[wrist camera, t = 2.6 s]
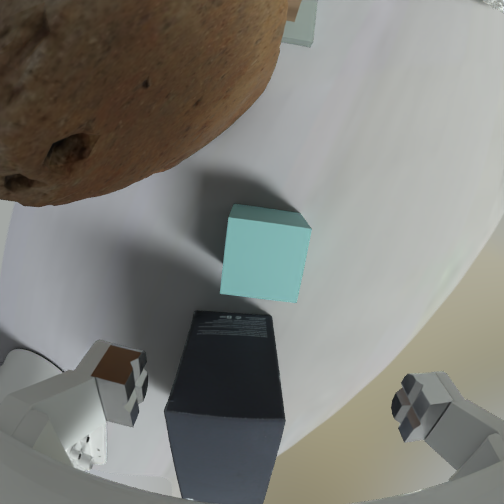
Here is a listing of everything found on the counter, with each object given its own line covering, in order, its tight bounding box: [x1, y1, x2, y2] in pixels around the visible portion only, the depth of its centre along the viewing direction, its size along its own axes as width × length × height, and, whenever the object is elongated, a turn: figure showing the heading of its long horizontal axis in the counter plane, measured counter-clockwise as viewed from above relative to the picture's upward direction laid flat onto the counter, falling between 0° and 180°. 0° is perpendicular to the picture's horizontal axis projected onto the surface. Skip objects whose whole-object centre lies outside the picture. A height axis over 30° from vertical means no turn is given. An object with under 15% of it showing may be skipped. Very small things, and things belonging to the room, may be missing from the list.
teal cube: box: [220, 204, 312, 303], centre depth 21 cm, size 5×5×5 cm
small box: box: [164, 311, 286, 504], centre depth 22 cm, size 13×7×12 cm, turn 176°
